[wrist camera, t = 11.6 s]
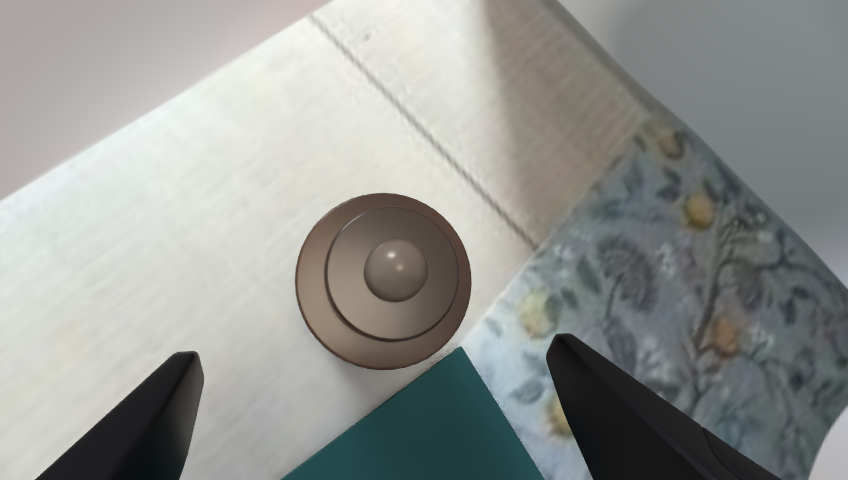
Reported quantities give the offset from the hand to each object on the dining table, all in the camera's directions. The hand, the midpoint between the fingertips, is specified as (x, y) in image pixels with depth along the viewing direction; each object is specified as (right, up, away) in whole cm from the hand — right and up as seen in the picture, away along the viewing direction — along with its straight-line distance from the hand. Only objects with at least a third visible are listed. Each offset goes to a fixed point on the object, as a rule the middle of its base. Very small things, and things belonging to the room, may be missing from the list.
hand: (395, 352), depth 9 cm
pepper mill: (-2, 0, +10) cm, 10 cm away
